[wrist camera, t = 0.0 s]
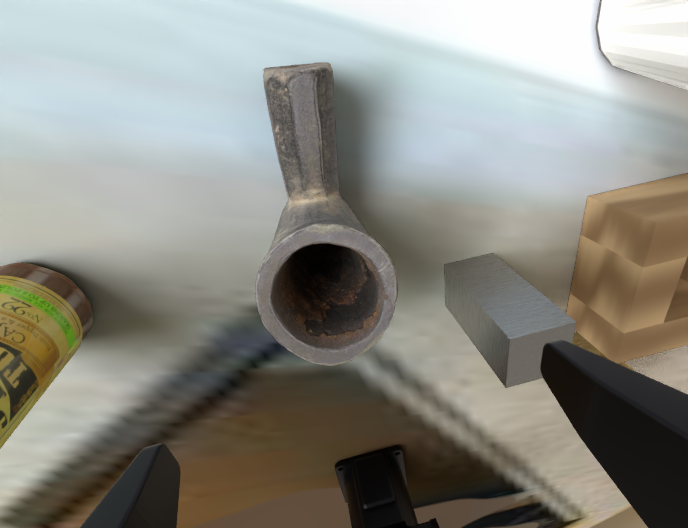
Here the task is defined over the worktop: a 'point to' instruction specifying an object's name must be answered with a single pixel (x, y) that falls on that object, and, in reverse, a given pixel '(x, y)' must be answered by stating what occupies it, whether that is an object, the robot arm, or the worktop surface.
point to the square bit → (504, 316)
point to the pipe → (318, 234)
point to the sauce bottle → (35, 335)
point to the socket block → (633, 270)
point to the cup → (646, 38)
